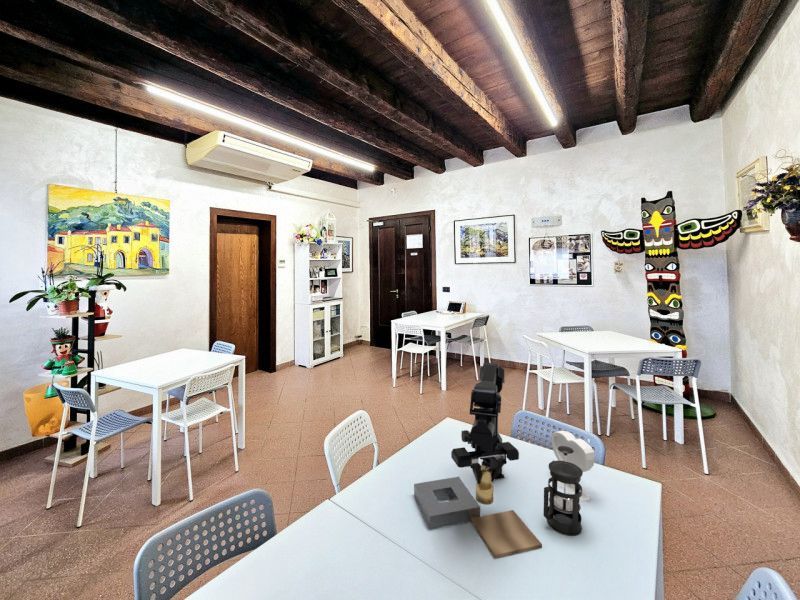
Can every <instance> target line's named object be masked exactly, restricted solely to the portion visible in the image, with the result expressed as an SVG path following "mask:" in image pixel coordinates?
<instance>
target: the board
mask: <svg viewBox="0 0 800 600" xmlns="http://www.w3.org/2000/svg"><path fill="white" fill-rule="evenodd" d="M470 522H471V524H472V525H473V526H474V528H475V530H476V531H477V533H478V535H479V536H480V538H481V540H482V541H483V543H484V544H485V546H486V547H487V548H488V551H489V552H490V553H491V555H492V557H493V558H494V559H500V558H503V557H508V556H512V555H515V554H516V555H517V554H521V553H526V552H530V551H533V550H538V549H541V548H542V549H543V544H542V542H541V541H540V540H539V539H538V538H537V536H536V535H535V534H534V533H533V531H532V530H531V529H530V528H529V527H528V525H526V524H525V522H524V521H523V520H522V519H521V518H520V516H519V515H518V514H517V513H516V512H515V510H514V509H511V510H505V511H500V512H496V513H490V514H485V515H480V516H479V517H474V518H471V521H470Z"/></svg>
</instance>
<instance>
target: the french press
mask: <svg viewBox="0 0 800 600" xmlns="http://www.w3.org/2000/svg"><path fill="white" fill-rule="evenodd" d="M558 450H559V451H560V452H563V453H564V455H565V461H558V460H553V461H550V462H549V463H548V467H547V468H548V470H549V474H550V475H549V476H550V477H549V478H548V481H547V486H545V487H543V513H542V514H543V517H544V518H545V519H546V523H547V525H548V526H549V527H550V528H551V529H552V530H554V531H555V532H556V533H558V534H561V535H565V536H568V537H574V536H578V535H580V534H581V533H582V531H583V525H582V515H581V513H580V511H581V508H582V507H581V504H580V502H581V500H580V497H581V496H582V491H583V487H582V485H581V484H580V483H581V480H582V476H583V473H584V472H582V470H581V469H580V468H579V467H578V466H577V465H575V464H573V463H570V462H566V456H567V454H571V453H573V452H574V450H573V449H572V448H570V447H567V446H559V447H558ZM557 481H559V482H562V483H564V488H563V492H561V491H559V490H558V483H557ZM566 484H574V485H575V494H570V493H566V490H565V489H566ZM580 490H581V492H580ZM555 516H565V517H568V518H569V519H571V522H572V523H569V522H568V523H566V522H563V521H560V520H558V519H557V518H555Z"/></svg>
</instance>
